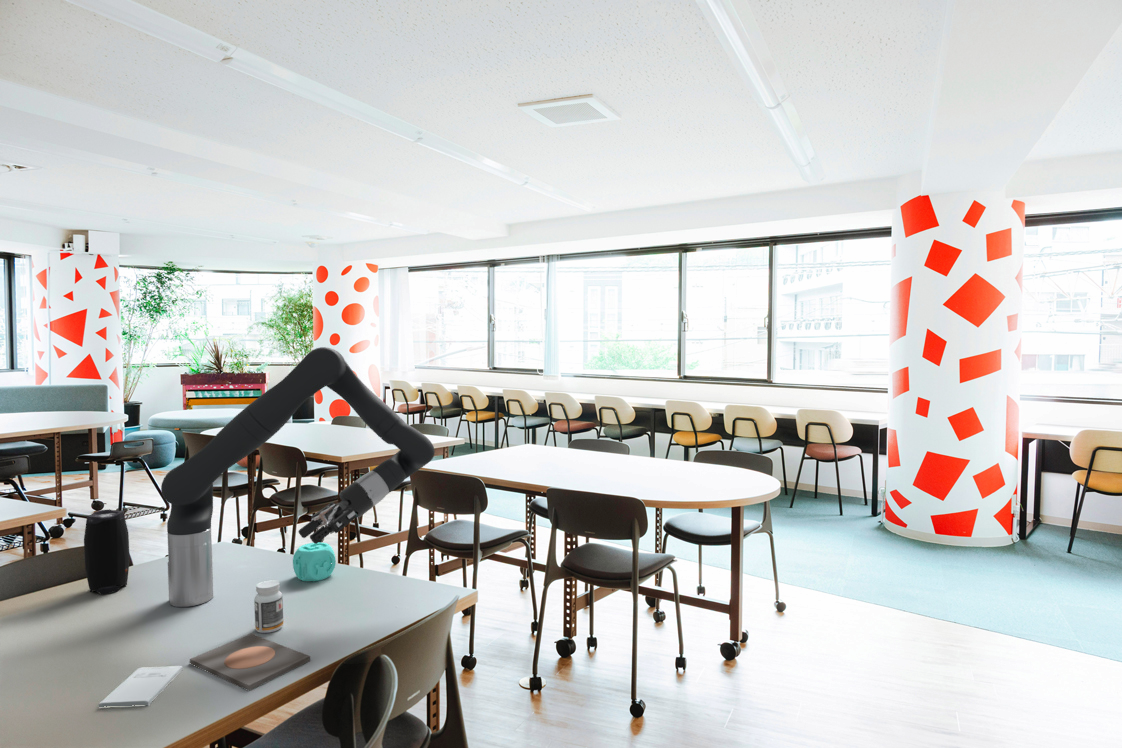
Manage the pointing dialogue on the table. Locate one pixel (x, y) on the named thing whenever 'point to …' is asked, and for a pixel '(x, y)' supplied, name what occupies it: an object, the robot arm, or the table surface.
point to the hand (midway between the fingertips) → (306, 537)
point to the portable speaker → (106, 551)
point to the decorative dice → (314, 561)
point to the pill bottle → (268, 607)
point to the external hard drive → (141, 686)
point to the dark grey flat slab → (250, 661)
